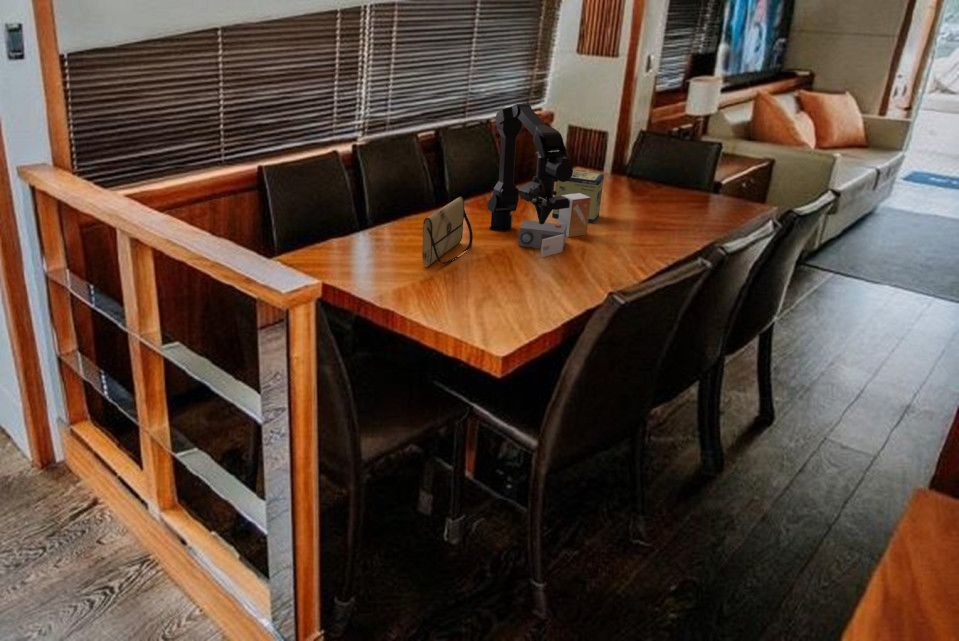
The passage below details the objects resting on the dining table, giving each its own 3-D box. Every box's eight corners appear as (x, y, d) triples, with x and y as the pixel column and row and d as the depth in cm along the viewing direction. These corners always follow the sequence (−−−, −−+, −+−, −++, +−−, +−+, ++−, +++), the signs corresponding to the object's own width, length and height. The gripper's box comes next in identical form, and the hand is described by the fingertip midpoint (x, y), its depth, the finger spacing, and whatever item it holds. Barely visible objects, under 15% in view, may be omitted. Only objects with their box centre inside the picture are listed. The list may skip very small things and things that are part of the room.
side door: (542, 257, 242) (544, 240, 240) (540, 256, 243) (541, 239, 241) (563, 251, 248) (565, 234, 246) (561, 250, 249) (563, 234, 247)
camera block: (517, 247, 250) (518, 227, 247) (522, 237, 259) (524, 218, 257) (561, 252, 247) (563, 232, 245) (565, 242, 257) (567, 222, 254)
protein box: (594, 223, 278) (599, 180, 272) (551, 217, 283) (555, 174, 276) (599, 216, 288) (604, 174, 281) (558, 210, 292) (562, 168, 286)
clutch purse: (441, 272, 226) (443, 221, 220) (419, 268, 228) (420, 218, 222) (476, 243, 252) (479, 197, 246) (456, 240, 254) (458, 194, 248)
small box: (568, 237, 262) (572, 199, 256) (556, 232, 266) (560, 194, 261) (587, 234, 266) (591, 197, 261) (575, 229, 271) (579, 192, 265)
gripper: (506, 169, 239) (502, 218, 245) (542, 183, 225) (538, 236, 231) (535, 166, 245) (531, 214, 251) (573, 180, 231) (568, 231, 237)
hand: (541, 224), depth 242 cm, fingers closed
